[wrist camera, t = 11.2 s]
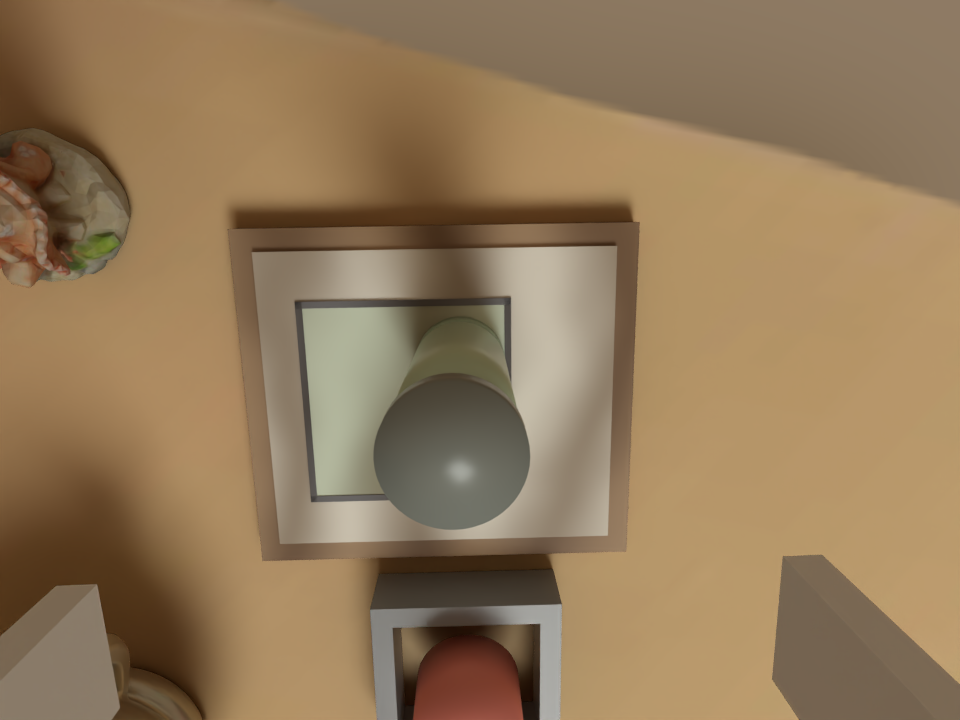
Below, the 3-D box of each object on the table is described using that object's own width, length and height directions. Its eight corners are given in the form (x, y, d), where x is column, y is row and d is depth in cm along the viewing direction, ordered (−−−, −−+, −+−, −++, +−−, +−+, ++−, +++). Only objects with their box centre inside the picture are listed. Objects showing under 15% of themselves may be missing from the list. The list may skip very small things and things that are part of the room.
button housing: (387, 721, 34) (380, 768, 31) (378, 573, 32) (370, 609, 29) (551, 716, 34) (559, 763, 31) (553, 569, 32) (561, 604, 29)
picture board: (268, 550, 32) (260, 564, 30) (236, 228, 28) (225, 229, 27) (621, 541, 32) (627, 554, 31) (633, 221, 28) (641, 222, 27)
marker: (416, 405, 29) (377, 531, 17) (412, 315, 28) (368, 383, 16) (507, 403, 29) (530, 528, 17) (506, 313, 28) (530, 380, 16)
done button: (419, 722, 32) (412, 794, 28) (415, 636, 30) (408, 697, 27) (518, 719, 32) (525, 790, 28) (518, 633, 30) (525, 694, 27)
